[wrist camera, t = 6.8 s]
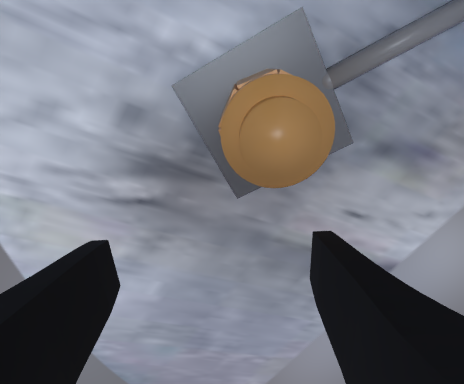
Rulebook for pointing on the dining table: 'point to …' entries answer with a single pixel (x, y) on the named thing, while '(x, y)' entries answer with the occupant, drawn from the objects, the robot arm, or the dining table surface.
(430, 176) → the dining table surface
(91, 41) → the dining table surface
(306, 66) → the gray square paddle
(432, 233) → the dining table surface
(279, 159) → the wire nut
